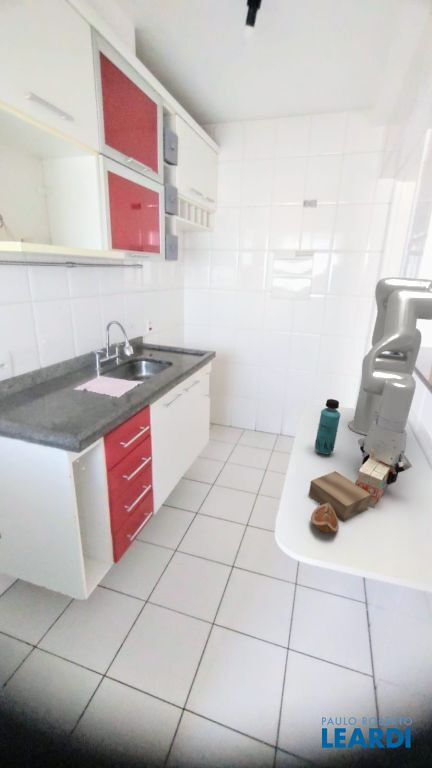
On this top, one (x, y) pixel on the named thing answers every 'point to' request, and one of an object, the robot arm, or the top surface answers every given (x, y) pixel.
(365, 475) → the stack of blocks
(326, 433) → the beverage bottle
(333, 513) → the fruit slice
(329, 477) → the walnut base brick
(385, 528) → the top surface
